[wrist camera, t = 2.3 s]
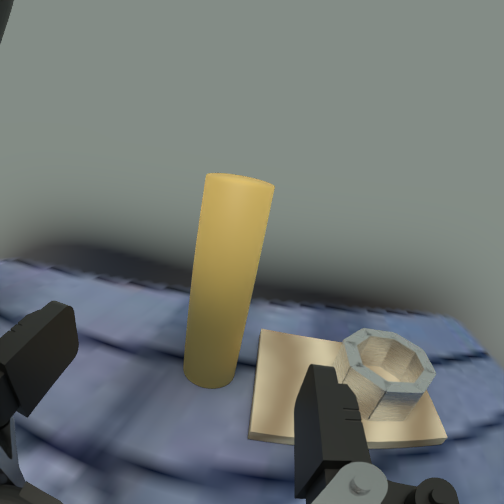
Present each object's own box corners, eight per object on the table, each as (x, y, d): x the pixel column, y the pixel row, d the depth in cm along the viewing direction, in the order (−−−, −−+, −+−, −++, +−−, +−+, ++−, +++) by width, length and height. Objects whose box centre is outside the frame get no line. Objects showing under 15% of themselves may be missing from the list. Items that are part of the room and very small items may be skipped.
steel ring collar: (338, 419, 21) (355, 389, 19) (327, 352, 29) (338, 324, 27) (426, 420, 20) (446, 392, 19) (401, 361, 28) (414, 335, 27)
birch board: (247, 438, 19) (250, 431, 19) (259, 336, 31) (261, 328, 31) (441, 444, 19) (447, 437, 18) (404, 357, 31) (407, 350, 30)
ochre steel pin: (177, 380, 23) (198, 178, 17) (190, 349, 27) (214, 170, 21) (230, 393, 23) (274, 192, 17) (237, 359, 27) (275, 182, 21)
